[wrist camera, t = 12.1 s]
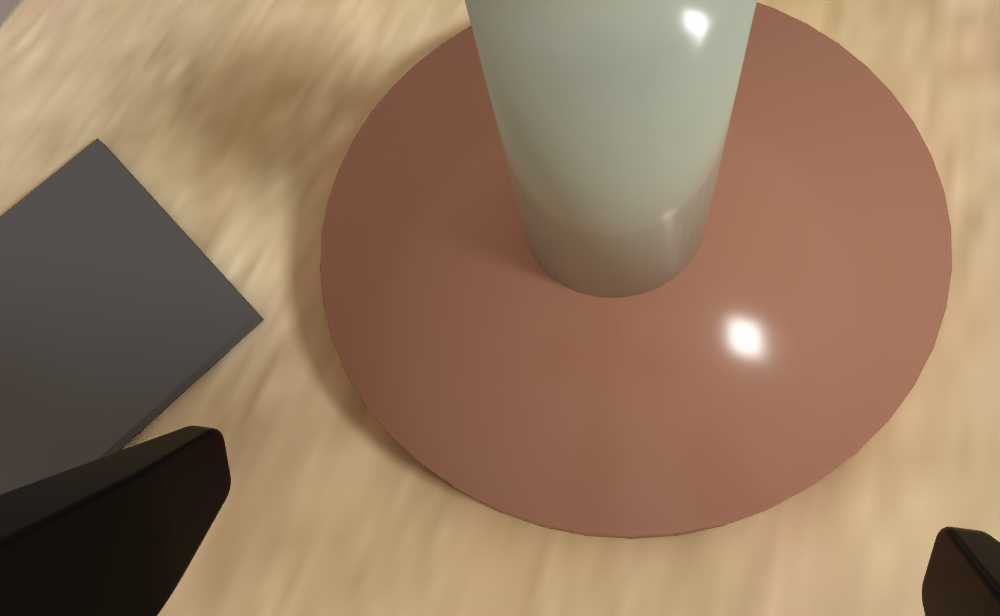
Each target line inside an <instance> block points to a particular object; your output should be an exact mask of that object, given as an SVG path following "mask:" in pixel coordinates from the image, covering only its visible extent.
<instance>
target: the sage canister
mask: <svg viewBox="0 0 1000 616" xmlns="http://www.w3.org/2000/svg"><path fill="white" fill-rule="evenodd" d="M465 3H466V7H467V10H468V14H469V18H470V22H471V26H472V30H473V34H474V38H475V42H476V45H477V49H478V53H479V57H480V61H481V65H482V69H483V73H484V77H485V80H486V84H487V88H488V92H489V96H490V100H491V104H492V108H493V111H494V115H495V119H496V123H497V127H498V131H499V135H500V139H501V143H502V146H503V150H504V154H505V158H506V162H507V166H508V170H509V174H510V178H511V181H512V185H513V189H514V193H515V197H516V201H517V205H518V209H519V213H520V216H521V220H522V224H523V228H524V232H525V236H526V240H527V243H528V245H529V248H530V250H531V252H532V254H533V256H534V258H535V259H536V261H537V262H538V263H539V265H540V266H541V267H542V268H543V269H544V270H545V271H546V272H547V273H548V274H549V275H550V276H551V277H552V278H554V279H555V280H556V281H558V282H559V283H561V284H563V285H564V286H566V287H568V288H570V289H572V290H575V291H577V292H580V293H583V294H587V295H591V296H597V297H604V298H620V297H630V296H634V295H639V294H643V293H646V292H648V291H651V290H654V289H656V288H658V287H660V286H662V285H664V284H666V283H667V282H669V281H670V280H672V279H673V278H675V277H676V276H677V275H678V274H679V273H680V272H682V271H683V270H684V269H685V268H686V266H687V265H688V264H689V263H690V262H691V261H692V259H693V258H694V256H695V255H696V253H697V251H698V249H699V247H700V245H701V243H702V240H703V237H704V233H705V230H706V225H707V221H708V216H709V212H710V208H711V203H712V199H713V194H714V190H715V185H716V181H717V176H718V172H719V167H720V163H721V159H722V154H723V150H724V145H725V141H726V136H727V132H728V127H729V123H730V118H731V114H732V110H733V105H734V101H735V96H736V92H737V87H738V83H739V78H740V74H741V70H742V65H743V61H744V56H745V52H746V47H747V43H748V38H749V34H750V29H751V25H752V21H753V16H754V12H755V7H756V3H757V0H465Z"/></svg>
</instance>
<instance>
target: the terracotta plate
mask: <svg viewBox="0 0 1000 616" xmlns="http://www.w3.org/2000/svg"><path fill="white" fill-rule="evenodd" d="M320 271H321V282H322V293H323V303H324V307H325V311H326V315H327V319H328V324H329V328H330V332H331V336H332V339H333V341H334V344H335V346H336V349H337V351H338V354H339V356H340V359H341V361H342V364H343V366H344V369H345V371H346V373H347V374H348V376H349V378H350V380H351V381H352V383H353V385H354V386H355V388H356V390H357V392H358V393H359V395H360V397H361V398H362V400H363V402H364V403H365V405H366V406H367V407H368V408H369V410H370V411H371V412H372V413H373V415H374V416H375V417H376V418H377V420H378V421H379V422H380V423H381V425H382V426H383V427H384V428H385V430H386V431H387V432H388V433H389V435H391V436H392V437H393V438H394V439H395V440H396V441H397V442H398V443H399V444H400V445H401V446H402V447H403V448H404V449H406V450H407V451H408V452H409V453H410V454H411V455H412V456H413V457H414V458H415V459H416V460H417V461H418V462H420V463H421V464H422V465H424V466H425V467H427V468H428V469H429V470H431V471H432V472H434V473H435V474H437V475H438V476H439V477H441V478H442V479H444V480H445V481H447V482H448V483H449V484H451V485H452V486H454V487H455V488H457V489H458V490H459V491H461V492H462V493H464V494H466V495H468V496H470V497H471V498H473V499H475V500H477V501H479V502H481V503H483V504H485V505H487V506H489V507H491V508H493V509H495V510H497V511H499V512H501V513H504V514H506V515H509V516H512V517H515V518H518V519H521V520H524V521H527V522H529V523H532V524H535V525H538V526H541V527H545V528H550V529H555V530H560V531H565V532H570V533H574V534H579V535H584V536H596V537H612V538H627V539H635V538H649V537H663V536H677V535H682V534H687V533H692V532H696V531H701V530H706V529H711V528H715V527H720V526H724V525H727V524H729V523H732V522H735V521H738V520H741V519H743V518H746V517H749V516H752V515H754V514H757V513H760V512H763V511H765V510H767V509H769V508H771V507H773V506H775V505H777V504H779V503H781V502H782V501H784V500H786V499H788V498H790V497H792V496H794V495H796V494H798V493H799V492H801V491H803V490H805V489H807V488H808V487H810V486H811V485H813V484H815V483H816V482H818V481H819V480H820V479H822V478H823V477H825V476H826V475H827V474H829V473H830V472H831V471H833V470H834V469H835V468H837V467H838V466H840V465H841V464H842V463H844V462H845V461H846V460H848V459H849V458H850V457H852V456H853V455H855V454H856V453H857V452H858V451H859V450H860V449H861V448H862V447H863V446H864V445H865V444H866V443H867V442H868V441H869V440H870V439H871V438H872V437H873V436H874V435H875V434H876V433H877V432H878V431H879V430H880V429H881V428H882V427H883V426H884V425H885V424H886V423H887V422H888V421H889V419H890V418H891V417H892V415H893V414H894V413H895V411H896V410H897V408H898V407H899V406H900V404H901V403H902V402H903V400H904V399H905V397H906V396H907V395H908V393H909V392H910V391H911V389H912V388H913V387H914V385H915V383H916V381H917V379H918V377H919V375H920V373H921V371H922V369H923V367H924V365H925V363H926V361H927V359H928V357H929V355H930V354H931V352H932V350H933V348H934V345H935V342H936V338H937V335H938V332H939V329H940V326H941V323H942V319H943V316H944V313H945V310H946V306H947V299H948V292H949V285H950V278H951V271H952V251H951V226H950V221H949V215H948V210H947V205H946V199H945V194H944V190H943V187H942V184H941V181H940V178H939V176H938V173H937V170H936V167H935V164H934V161H933V159H932V156H931V154H930V152H929V150H928V148H927V146H926V144H925V143H924V141H923V139H922V137H921V135H920V133H919V131H918V129H917V128H916V126H915V124H914V122H913V121H912V119H911V118H910V117H909V115H908V114H907V113H906V111H905V110H904V108H903V107H902V106H901V104H900V103H899V102H898V100H897V99H896V98H895V96H894V95H893V93H892V92H891V91H890V90H889V89H888V88H887V87H886V86H885V85H884V84H883V83H882V82H881V81H880V80H879V79H878V78H877V77H876V76H875V75H874V73H873V72H872V71H871V70H870V69H869V68H868V67H867V66H866V65H864V64H863V63H862V62H861V61H859V60H858V59H857V58H856V57H854V56H853V55H852V54H851V53H849V52H848V51H847V50H846V49H844V48H843V47H842V46H841V45H839V44H838V43H837V42H835V41H834V40H832V39H830V38H829V37H827V36H826V35H824V34H822V33H821V32H819V31H817V30H816V29H814V28H813V27H811V26H809V25H808V24H806V23H804V22H802V21H800V20H798V19H795V18H793V17H791V16H789V15H787V14H785V13H783V12H781V11H779V10H776V9H774V8H772V7H769V6H766V5H763V4H760V3H756V7H755V12H754V16H753V21H752V25H751V29H750V34H749V38H748V43H747V47H746V52H745V56H744V61H743V65H742V70H741V74H740V78H739V83H738V87H737V92H736V96H735V101H734V105H733V110H732V114H731V118H730V123H729V127H728V132H727V136H726V141H725V145H724V150H723V154H722V159H721V163H720V167H719V172H718V176H717V181H716V185H715V190H714V194H713V199H712V203H711V208H710V212H709V216H708V221H707V225H706V230H705V233H704V237H703V240H702V243H701V245H700V247H699V249H698V251H697V253H696V255H695V256H694V258H693V259H692V261H691V262H690V263H689V264H688V265H687V266H686V268H685V269H684V270H683V271H682V272H680V273H679V274H678V275H677V276H676V277H675V278H673V279H672V280H670V281H669V282H667V283H666V284H664V285H662V286H660V287H658V288H656V289H654V290H651V291H648V292H646V293H643V294H639V295H634V296H630V297H620V298H604V297H597V296H591V295H587V294H583V293H580V292H577V291H575V290H572V289H570V288H568V287H566V286H564V285H563V284H561V283H559V282H558V281H556V280H555V279H554V278H552V277H551V276H550V275H549V274H548V273H547V272H546V271H545V270H544V269H543V268H542V267H541V266H540V265H539V263H538V262H537V261H536V259H535V258H534V256H533V254H532V252H531V250H530V248H529V245H528V243H527V240H526V236H525V232H524V228H523V224H522V220H521V216H520V213H519V209H518V205H517V201H516V197H515V193H514V189H513V185H512V181H511V178H510V174H509V170H508V166H507V162H506V158H505V154H504V150H503V146H502V143H501V139H500V135H499V131H498V127H497V123H496V119H495V115H494V111H493V108H492V104H491V100H490V96H489V92H488V88H487V84H486V80H485V77H484V73H483V69H482V65H481V61H480V57H479V53H478V49H477V45H476V42H475V38H474V34H473V30H472V26H470V27H469V28H467V29H465V30H464V31H462V32H461V33H459V34H457V35H456V36H454V37H453V38H451V39H449V40H448V41H446V42H445V43H443V44H441V45H440V46H439V47H438V48H436V49H435V50H434V51H432V52H431V53H430V54H429V55H427V56H426V57H425V58H423V59H422V60H421V61H420V62H418V63H417V64H416V65H415V66H414V67H413V68H411V69H410V70H409V71H408V72H407V73H406V74H405V75H404V76H403V77H402V78H401V79H400V80H399V81H398V82H397V83H396V84H395V85H394V86H393V87H392V88H391V89H390V90H389V92H388V93H387V94H386V95H385V96H384V98H383V99H382V100H381V101H380V102H379V104H378V105H377V106H376V107H375V109H374V110H373V111H372V112H371V113H370V115H369V117H368V118H367V120H366V121H365V123H364V124H363V126H362V127H361V129H360V131H359V132H358V134H357V135H356V137H355V138H354V140H353V142H352V144H351V146H350V148H349V150H348V152H347V154H346V156H345V158H344V160H343V162H342V164H341V166H340V169H339V171H338V174H337V177H336V180H335V183H334V186H333V189H332V192H331V195H330V198H329V201H328V205H327V211H326V216H325V221H324V226H323V232H322V243H321V263H320Z"/></svg>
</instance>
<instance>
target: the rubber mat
mask: <svg viewBox="0 0 1000 616" xmlns="http://www.w3.org/2000/svg"><path fill="white" fill-rule="evenodd" d="M263 320H264V319H263V318H262V317H261V316H260V315H259V314H258V313H257V312H256V310H255V309H254V308H253V307H252V306H251V305H250V304H249V303H248V302H247V301H246V299H245V298H244V297H243V296H242V295H241V294H240V293H239V292H238V291H237V290H236V288H235V287H234V286H233V285H232V284H231V283H230V282H229V281H228V280H227V279H226V277H225V276H224V275H223V274H222V273H221V272H220V271H219V270H218V269H217V268H216V266H215V265H214V264H213V263H212V262H211V261H210V260H209V259H208V258H207V257H206V255H205V254H204V253H203V252H202V251H201V250H200V249H199V248H198V247H197V246H196V244H195V243H194V242H193V241H192V240H191V239H190V238H189V237H188V236H187V235H186V233H185V232H184V231H183V230H182V229H181V228H180V227H179V226H178V225H177V224H176V222H175V221H174V220H173V219H172V218H171V217H170V216H169V215H168V214H167V212H166V211H165V210H164V209H163V208H162V207H161V206H160V205H159V204H158V203H157V201H156V200H155V199H154V198H153V197H152V196H151V195H150V194H149V193H148V192H147V190H146V189H145V188H144V187H143V186H142V185H141V184H140V183H139V182H138V181H137V179H136V178H135V177H134V176H133V175H132V174H131V173H130V172H129V171H128V170H127V168H126V167H125V166H124V165H123V164H122V163H121V162H120V161H119V160H118V159H117V157H116V156H115V155H114V154H113V153H112V152H111V151H110V150H109V149H108V148H107V146H106V145H105V144H103V143H102V142H101V141H100V140H99V139H98V138H97V139H96V140H95V141H94V142H92V143H91V144H90V145H89V146H87V147H86V148H85V149H84V150H82V151H81V152H80V153H79V154H77V155H76V156H75V157H74V158H72V159H71V160H70V161H69V162H68V163H66V164H65V165H64V166H63V167H61V168H60V169H59V170H58V171H56V172H55V173H54V174H53V175H51V176H50V177H49V178H48V179H47V180H45V181H44V182H43V183H42V184H40V185H39V186H38V187H37V188H35V189H34V190H33V191H32V192H30V193H29V194H28V195H27V196H25V197H24V198H23V199H22V200H21V201H19V202H18V203H17V204H16V205H14V206H13V207H12V208H11V209H9V210H8V211H7V212H6V213H4V214H3V215H2V216H1V217H0V494H3V493H5V492H8V491H11V490H14V489H16V488H19V487H22V486H25V485H27V484H30V483H33V482H36V481H38V480H41V479H44V478H47V477H49V476H52V475H55V474H58V473H61V472H63V471H66V470H69V469H72V468H74V467H77V466H80V465H83V464H85V463H88V462H91V461H94V460H96V459H99V458H102V457H105V456H107V455H110V454H113V453H116V452H118V451H119V450H120V449H121V448H123V447H124V446H125V445H126V444H127V443H128V442H129V441H130V440H131V439H132V438H134V437H135V436H136V435H137V434H138V433H139V432H140V431H141V430H142V429H143V428H145V427H146V426H147V425H148V424H149V423H150V422H151V421H152V420H153V419H155V418H156V417H157V416H158V415H159V414H160V413H161V412H162V411H163V410H164V409H166V408H167V407H168V406H169V405H170V404H171V403H172V402H173V401H174V400H175V399H177V398H178V397H179V396H180V395H181V394H182V393H183V392H184V391H185V390H186V389H188V388H189V387H190V386H191V385H192V384H193V383H194V382H195V381H196V380H198V379H199V378H200V377H201V376H202V375H203V374H204V373H205V372H206V371H207V370H209V369H210V368H211V367H212V366H213V365H214V364H215V363H216V362H217V361H218V360H220V359H221V358H222V357H223V356H224V355H225V354H226V353H227V352H228V351H229V350H231V349H232V348H233V347H234V346H235V345H236V344H237V343H238V342H239V341H240V340H242V339H243V338H244V337H245V336H246V335H247V334H248V333H249V332H250V331H252V330H253V329H254V328H255V327H256V326H257V325H258V324H259V323H260V322H261V321H263Z"/></svg>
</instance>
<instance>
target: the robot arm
mask: <svg viewBox="0 0 1000 616" xmlns="http://www.w3.org/2000/svg"><path fill="white" fill-rule="evenodd" d="M230 485H231V476H230V471H229V465H228V459H227V453H226V448H225V442H224V438H223V435H222V434H221V432H220V431H219V430H217V429H215V428H207V427H200V426H188V427H185V428H182V429H179V430H176V431H174V432H171V433H168V434H165V435H163V436H160V437H157V438H154V439H152V440H149V441H146V442H143V443H141V444H138V445H135V446H132V447H130V448H127V449H124V450H121V451H119V452H116V453H113V454H110V455H107V456H105V457H102V458H99V459H96V460H94V461H91V462H88V463H85V464H83V465H80V466H77V467H74V468H72V469H69V470H66V471H63V472H61V473H58V474H55V475H52V476H49V477H47V478H44V479H41V480H38V481H36V482H33V483H30V484H27V485H25V486H22V487H19V488H16V489H14V490H11V491H8V492H5V493H3V494H0V616H157V615H158V614H159V612H160V611H161V609H162V608H163V606H164V605H165V603H166V602H167V600H168V599H169V597H170V596H171V594H172V593H173V591H174V590H175V588H176V586H177V585H178V583H179V581H180V580H181V578H182V576H183V575H184V573H185V571H186V569H187V568H188V566H189V564H190V562H191V560H192V559H193V557H194V555H195V553H196V552H197V550H198V548H199V546H200V544H201V543H202V541H203V539H204V537H205V536H206V534H207V532H208V530H209V528H210V527H211V525H212V523H213V521H214V520H215V518H216V516H217V514H218V512H219V511H220V509H221V507H222V505H223V504H224V502H225V500H226V498H227V496H228V493H229V490H230ZM922 602H923V607H924V612H925V616H1000V542H999V541H997V540H996V539H994V538H993V537H992V536H990V535H989V534H987V533H985V532H983V531H979V530H971V529H963V528H956V527H945V528H943V529H941V530H940V532H939V533H938V535H937V537H936V540H935V543H934V547H933V550H932V553H931V557H930V560H929V563H928V567H927V570H926V574H925V577H924V580H923V585H922Z"/></svg>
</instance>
